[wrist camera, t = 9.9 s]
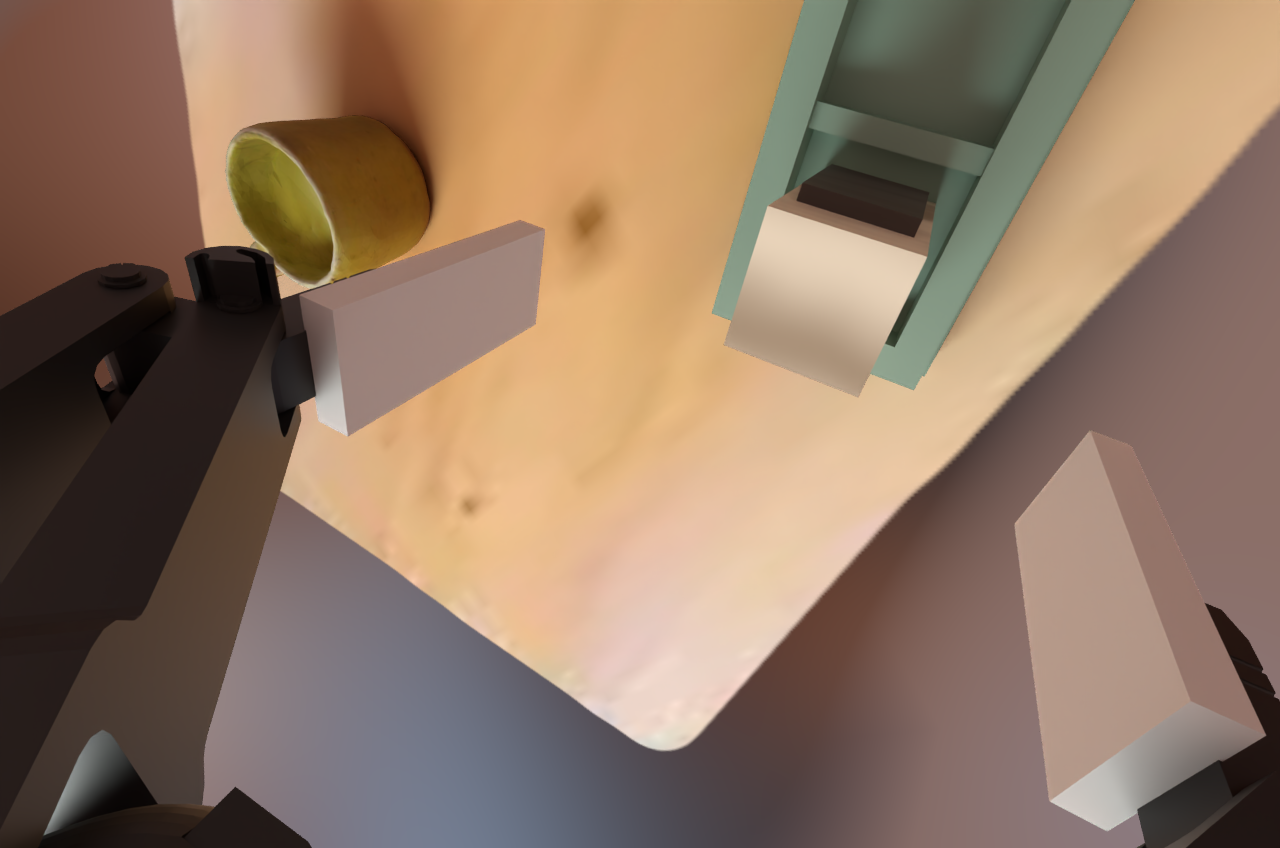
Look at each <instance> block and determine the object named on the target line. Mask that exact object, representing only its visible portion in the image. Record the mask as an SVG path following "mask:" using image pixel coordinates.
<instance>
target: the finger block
mask: <svg viewBox="0 0 1280 848" xmlns="http://www.w3.org/2000/svg"><path fill="white" fill-rule="evenodd" d="M928 195H929V192H927V191H923V190H920V189H916V188H913V187H909V186H906V185H903V184H899V183H896V182H892V181H889V180H885V179H882V178H879V177H875V176H872V175H868V174H865V173H862V172H858V171H855V170H851V169H848V168H844V167H841V166H838V165H834V164H831V165H829V166H828V167H826V168H825V169H823V170H821V171H820V172H818V173H817V174H815V175H814V176H812V177H810V178H809V179H807V180H806V181H804V182H803V183H802V184H801V185H799V186H798V187H796V188H795V189H793V190H792V191H790V192H788V193H787V194H785V195H784V196H782V197H781V198H779V199H778V200H776V201H774V202H773V203H771V204H770V205H768V206H767V209H766V213H765V216H764V219H763V222H762V225H761V228H760V232H759V235H758V238H757V241H756V244H755V247H754V251H753V254H752V257H751V260H750V263H749V266H748V270H747V273H746V276H745V279H744V282H743V286H742V289H741V292H740V295H739V298H738V301H737V305H736V308H735V311H734V314H733V317H732V320H731V324H730V327H729V330H728V333H727V336H726V339H725V343H724V345H725V346H728V347H730V348H733V349H735V350H738V351H740V352H743V353H746V354H748V355H751V356H753V357H756V358H758V359H761V360H764V361H766V362H769V363H771V364H774V365H776V366H779V367H782V368H784V369H787V370H789V371H792V372H794V373H797V374H799V375H802V376H805V377H807V378H810V379H812V380H815V381H817V382H820V383H823V384H825V385H828V386H830V387H833V388H835V389H838V390H840V391H843V392H846V393H848V394H851V395H853V396H856V397H859V395H860V393H861V391H862V389H863V387H864V385H865V383H866V381H867V379H868V377H869V375H870V373H871V371H872V369H873V366H874V364H875V362H876V360H877V358H878V356H879V354H880V352H881V350H882V348H883V346H884V344H885V342H886V340H887V338H888V336H889V334H890V332H891V330H892V328H893V326H894V324H895V322H896V320H897V318H898V316H899V314H900V312H901V310H902V307H903V305H904V303H905V301H906V299H907V297H908V295H909V293H910V291H911V289H912V287H913V285H914V283H915V281H916V279H917V277H918V275H919V273H920V271H921V269H922V267H923V265H924V263H925V261H926V259H927V256H928V250H929V244H930V237H931V231H932V225H933V219H934V213H935V207H936V203H933V202H929V201H927V200H928Z"/></svg>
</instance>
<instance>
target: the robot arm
mask: <svg viewBox="0 0 1280 848" xmlns="http://www.w3.org/2000/svg"><path fill="white" fill-rule="evenodd" d="M544 235H545V229H543V228H540V227H538V226H535V225H532V224H530V223H527V222H524V221H521V220H519V221H516V222H513V223H510V224H507V225H504V226H501V227H498V228H495V229H493V230H490V231H487V232H484V233H481V234H478V235H475V236H472V237H469V238H466V239H463V240H460V241H457V242H454V243H451V244H448V245H445V246H442V247H439V248H436V249H433V250H430V251H427V252H425V253H422V254H419V255H416V256H413V257H410V258H407V259H404V260H401V261H398V262H395V263H392V264H389V265H386V266H383V267H380V268H377V269H369V270H366V271H363V272H360V273H357V274H354V275H351V276H350V277H349V278H346V277H345V278H342V279H339V280H336V281H334V282H333V284H331V283H328V284H325V285H322V286H319V287H316V288H313V289H310V290H307V291H304V292H301V293H298V294H295V295H292V296H289V297H286V298H283V299H281V298H280V292H279V286H278V281H277V275H276V269H275V264H274V258H273V257H272V256H270V255H269V254H268V253H266V252H264V251H261V250H258V249H255V248H248V247H242V246H218V247H210V248H204V249H201V250H198V251H195V252H192V253H190V254H189V255H187V256H186V257H185V261H186V264H187V268H188V272H189V276H190V280H191V283H192V287H193V291H194V295H195V298H196V301H192V300H187V299H183V298H178V297H174V295H173V291H172V288H171V284H170V281H169V277H168V275H167V274H166V273H165V272H163V271H162V270H160V269H157V268H153V267H150V266H143V265H135V264H132V263H123V265H121V263H119V264H110V265H109V266H106V267H101V268H96V269H93V270H90V271H88V272H85V273H82V274H80V275H78V276H76V277H75V278H73V279H71V280H69V281H67V282H65V283H63V284H61V285H59V286H57V287H55V288H53V289H51V290H49V291H48V292H46V293H44V294H42V295H40V296H38V297H36V298H34V299H32V300H30V301H28V302H26V303H25V304H22V305H21V306H19V307H17V308H15V309H13V310H11V311H9V312H7V313H5V314H3V315H1V316H0V848H312V847H311V846H310V844H309V843H308V841H306V840H305V839H304V838H302V837H301V836H300V835H299V834H297V833H296V832H295V831H293V830H292V829H291V828H289V827H288V826H286V825H285V824H284V823H283V822H281V821H280V820H279V819H277V818H276V817H275V816H273V815H272V814H271V813H269V812H268V811H267V810H265V809H264V808H263V807H261V806H260V805H259V804H257V803H256V802H255V801H253V800H252V799H251V798H250V797H248V796H247V795H246V794H244V793H243V792H242V791H240V790H239V789H238V788H236V787H235V788H234V789H233V790H232V791H231V792H230V793H229V794H228V795H227V796H226V797H225V798H224V799H223V800H222V801H221V802H220V803H219V804H218V805H217V806H216V807H212V806H204V805H202V801H203V791H204V749H205V743H206V739H207V734H208V731H209V727H210V724H211V721H212V717H213V714H214V710H215V707H216V704H217V700H218V697H219V694H220V690H221V687H222V683H223V680H224V677H225V673H226V670H227V667H228V664H229V660H230V657H231V654H232V650H233V647H234V643H235V640H236V637H237V633H238V630H239V627H240V623H241V620H242V617H243V613H244V610H245V607H246V603H247V600H248V597H249V593H250V590H251V586H252V583H253V580H254V577H255V573H256V570H257V566H258V563H259V560H260V556H261V553H262V550H263V546H264V543H265V539H266V536H267V533H268V530H269V526H270V523H271V519H272V516H273V513H274V509H275V506H276V503H277V499H278V496H279V493H280V489H281V486H282V483H283V479H284V476H285V473H286V469H287V466H288V463H289V459H290V456H291V453H292V449H293V446H294V442H295V439H296V436H297V432H298V429H299V426H300V422H301V412H300V406H299V404H301V403H303V402H305V401H307V400H309V399H311V398H313V397H315V401H316V408H317V414H318V420H319V422H321V423H323V424H325V425H327V426H329V427H331V428H333V429H335V430H336V431H338V432H340V433H342V434H344V435H346V436H349V435H351V434H353V433H354V432H356V431H358V430H359V429H361V428H363V427H364V426H366V425H368V424H369V423H371V422H373V421H375V420H376V419H378V418H380V417H381V416H383V415H385V414H386V413H388V412H390V411H391V410H393V409H395V408H396V407H398V406H400V405H401V404H403V403H405V402H406V401H408V400H410V399H411V398H413V397H415V396H416V395H418V394H420V393H421V392H423V391H425V390H426V389H428V388H430V387H431V386H433V385H435V384H436V383H438V382H440V381H441V380H443V379H445V378H446V377H448V376H450V375H452V374H453V373H455V372H457V371H458V370H460V369H462V368H463V367H465V366H467V365H468V364H470V363H472V362H473V361H475V360H477V359H478V358H480V357H482V356H483V355H485V354H487V353H488V352H490V351H492V350H493V349H495V348H497V347H498V346H500V345H502V344H503V343H505V342H507V341H508V340H510V339H512V338H513V337H515V336H517V335H518V334H520V333H522V332H523V331H525V330H527V329H528V328H530V327H532V326H534V325H535V324H536V314H537V304H538V295H539V285H540V275H541V265H542V255H543V245H544ZM103 358H104V360H105V363H106V365H107V368H108V371H109V373H110V376H111V378H112V381H111V382H110V383H109V384H107V385H106V386H105V387H103V388H100V386H99V385H98V384H97V382H96V379H95V377H94V374H95V371H96V367H97V365H98V364H99V362H100V361H101V360H102V359H103ZM1014 525H1015V532H1016V540H1017V548H1018V556H1019V564H1020V571H1021V579H1022V588H1023V596H1024V604H1025V612H1026V619H1027V627H1028V635H1029V643H1030V651H1031V659H1032V667H1033V674H1034V683H1035V690H1036V698H1037V706H1038V715H1039V722H1040V730H1041V737H1042V745H1043V754H1044V762H1045V770H1046V777H1047V785H1048V793H1049V801H1050V802H1052V803H1054V804H1056V805H1058V806H1060V807H1061V808H1064V809H1065V810H1067V811H1069V812H1071V813H1073V814H1075V815H1077V816H1079V817H1081V818H1083V819H1085V820H1087V821H1089V822H1090V823H1092V824H1094V825H1096V826H1098V827H1100V828H1102V829H1104V830H1106V831H1108V830H1110V829H1112V828H1113V827H1115V826H1117V825H1118V824H1120V823H1122V822H1123V821H1125V820H1127V819H1128V818H1130V817H1132V816H1133V815H1135V814H1137V813H1138V815H1139V819H1140V823H1141V828H1142V831H1143V836H1144V840H1145V843H1144V844H1142V845H1141V846H1139V847H1137V848H1280V701H1279V699H1277V698H1275V697H1274V694H1275V691H1274V689H1273V687H1272V685H1271V683H1270V681H1269V679H1268V677H1267V675H1266V674H1263V673H1262V670H1263V667H1262V666H1261V664H1260V662H1259V660H1258V658H1257V656H1256V654H1255V652H1254V650H1253V648H1252V646H1251V644H1250V642H1249V640H1248V639H1247V638H1246V637H1245V636H1244V635H1243V633H1242V632H1241V631H1240V630H1239V629H1238V628H1237V627H1236V626H1235V625H1234V623H1233V622H1232V621H1231V620H1230V619H1229V618H1228V617H1227V616H1226V614H1225V613H1224V612H1223V611H1222V610H1221V609H1218V608H1216V607H1213V606H1211V605H1209V604H1206V603H1204V601H1203V599H1202V596H1201V595H1200V592H1199V590H1198V588H1197V586H1196V584H1195V582H1194V579H1193V577H1192V575H1191V573H1190V571H1189V569H1188V566H1187V565H1186V562H1185V560H1184V558H1183V556H1182V554H1181V551H1180V549H1179V548H1178V545H1177V543H1176V541H1175V539H1174V536H1173V534H1172V532H1171V530H1170V528H1169V526H1168V523H1167V521H1166V519H1165V517H1164V515H1163V513H1162V511H1161V508H1160V506H1159V504H1158V502H1157V500H1156V498H1155V496H1154V494H1153V491H1152V489H1151V487H1150V485H1149V483H1148V481H1147V478H1146V476H1145V474H1144V472H1143V470H1142V468H1141V466H1140V463H1139V461H1138V459H1137V457H1136V455H1135V453H1134V450H1133V448H1132V446H1131V445H1129V444H1126V443H1123V442H1121V441H1118V440H1115V439H1112V438H1110V437H1107V436H1104V435H1101V434H1099V433H1096V432H1094V431H1091V430H1090V431H1089V432H1088V434H1087V435H1086V436H1085V437H1084V439H1083V440H1082V441H1081V442H1080V444H1079V445H1078V446H1077V447H1076V449H1075V450H1074V451H1073V452H1072V453H1071V455H1070V456H1069V457H1068V459H1067V460H1066V461H1065V462H1064V463H1063V465H1062V466H1061V467H1060V468H1059V470H1058V471H1057V472H1056V473H1055V475H1054V476H1053V477H1052V478H1051V480H1050V481H1049V482H1048V483H1047V484H1046V486H1045V487H1044V488H1043V490H1042V491H1041V492H1040V493H1039V494H1038V496H1037V497H1036V498H1035V499H1034V501H1033V502H1032V503H1031V504H1030V506H1029V507H1028V508H1027V509H1026V511H1025V512H1024V513H1023V514H1022V515H1021V517H1020V518H1019V519H1018V520H1017V522H1016V523H1015V524H1014Z"/></svg>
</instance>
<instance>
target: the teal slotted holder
mask: <svg viewBox="0 0 1280 848" xmlns="http://www.w3.org/2000/svg"><path fill="white" fill-rule="evenodd" d="M1134 1H1135V0H804V3H803V6H802V10H801V13H800V17H799V20H798V23H797V27H796V30H795V33H794V37H793V40H792V44H791V47H790V50H789V54H788V57H787V60H786V64H785V67H784V71H783V74H782V77H781V81H780V84H779V88H778V91H777V94H776V98H775V101H774V104H773V108H772V111H771V115H770V118H769V121H768V125H767V128H766V131H765V135H764V138H763V142H762V145H761V148H760V152H759V155H758V158H757V162H756V165H755V169H754V172H753V175H752V179H751V182H750V186H749V189H748V192H747V196H746V199H745V202H744V206H743V209H742V213H741V216H740V219H739V223H738V226H737V229H736V233H735V236H734V240H733V243H732V246H731V250H730V253H729V256H728V260H727V263H726V267H725V270H724V273H723V277H722V280H721V284H720V287H719V290H718V294H717V297H716V300H715V304H714V307H713V311H712V314H715V315H718V316H720V317H723V318H725V319H728V320H732V317H733V314H734V311H735V308H736V305H737V301H738V298H739V295H740V292H741V289H742V286H743V282H744V279H745V276H746V273H747V270H748V266H749V263H750V260H751V257H752V254H753V251H754V247H755V244H756V241H757V238H758V235H759V232H760V228H761V225H762V222H763V219H764V216H765V213H766V209H767V206H768V205H770V204H771V203H773V202H774V201H776V200H778V199H779V198H781V197H782V196H784V195H785V194H787V193H788V192H790V191H792V190H793V189H795V188H796V187H798V186H799V185H801V184H802V183H803V182H804V181H806V180H807V179H809V178H810V177H812V176H814V175H815V174H817V173H818V172H820V171H821V170H823V169H825V168H826V167H828V166H829V165H831V164H834V165H838V166H841V167H844V168H848V169H851V170H855V171H858V172H862V173H865V174H868V175H872V176H875V177H879V178H882V179H885V180H889V181H892V182H896V183H899V184H903V185H906V186H909V187H913V188H916V189H920V190H923V191H927V192H929V195H928V200H927V201H929V202H933V203H936V207H935V213H934V219H933V225H932V231H931V237H930V244H929V250H928V256H927V259H926V261H925V263H924V265H923V267H922V269H921V271H920V273H919V275H918V277H917V279H916V281H915V283H914V285H913V287H912V289H911V291H910V293H909V295H908V297H907V299H906V301H905V303H904V305H903V307H902V310H901V312H900V314H899V316H898V318H897V320H896V322H895V324H894V326H893V328H892V330H891V332H890V334H889V336H888V338H887V340H886V342H885V344H884V346H883V348H882V350H881V352H880V354H879V356H878V358H877V360H876V362H875V364H874V366H873V369H872V371H871V373H870V374H872V375H875V376H878V377H880V378H883V379H885V380H888V381H891V382H893V383H896V384H899V385H901V386H904V387H906V388H909V389H912V390H914V389H915V387H916V385H917V384H918V382H919V380H920V378H921V376H925V375H926V373H927V371H928V369H929V367H930V366H931V364H932V362H933V360H934V358H935V357H936V355H937V353H938V351H939V350H940V348H941V346H942V344H943V342H944V341H945V339H946V337H947V335H948V333H949V332H950V330H951V328H952V326H953V325H954V323H955V321H956V319H957V317H958V316H959V314H960V312H961V310H962V308H963V307H964V305H965V303H966V301H967V299H968V298H969V296H970V294H971V292H972V291H973V289H974V287H975V285H976V283H977V282H978V280H979V278H980V276H981V274H982V273H983V271H984V269H985V267H986V266H987V264H988V262H989V260H990V258H991V257H992V255H993V253H994V251H995V249H996V248H997V246H998V244H999V242H1000V241H1001V239H1002V237H1003V235H1004V233H1005V232H1006V230H1007V228H1008V226H1009V224H1010V223H1011V221H1012V219H1013V217H1014V215H1015V214H1016V212H1017V210H1018V208H1019V207H1020V205H1021V203H1022V201H1023V199H1024V198H1025V196H1026V194H1027V192H1028V190H1029V189H1030V187H1031V185H1032V183H1033V182H1034V180H1035V178H1036V176H1037V174H1038V173H1039V171H1040V169H1041V167H1042V165H1043V164H1044V162H1045V160H1046V158H1047V157H1048V155H1049V153H1050V151H1051V149H1052V148H1053V146H1054V144H1055V142H1056V140H1057V139H1058V137H1059V135H1060V133H1061V131H1062V130H1063V128H1064V126H1065V124H1066V123H1067V121H1068V119H1069V117H1070V115H1071V114H1072V112H1073V110H1074V108H1075V106H1076V105H1077V103H1078V101H1079V99H1080V98H1081V96H1082V94H1083V92H1084V90H1085V89H1086V87H1087V85H1088V83H1089V81H1090V80H1091V78H1092V76H1093V74H1094V73H1095V71H1096V69H1097V67H1098V65H1099V64H1100V62H1101V60H1102V58H1103V56H1104V55H1105V53H1106V51H1107V49H1108V47H1109V46H1110V44H1111V42H1112V40H1113V39H1114V37H1115V35H1116V33H1117V31H1118V30H1119V28H1120V26H1121V24H1122V22H1123V21H1124V19H1125V17H1126V15H1127V14H1128V12H1129V10H1130V8H1131V6H1132V5H1133V3H1134Z"/></svg>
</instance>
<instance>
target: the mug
mask: <svg viewBox="0 0 1280 848" xmlns="http://www.w3.org/2000/svg"><path fill="white" fill-rule="evenodd" d="M225 173H226V181H227V185H228V189H229V192H230V196H231V199H232V202H233V204H234V207H235V209H236V211H237V214H238V215H239V217H240V219H241V222H242V223H243V225H244V226H245V227H246V229H247V230H248V232H249V233H250V235H251V236H252V238H253V239H254V240H255V242H254V243H253V244H251V246H250V248H255V249H258V250H261V251H264V252H266V253H268V254H269V255H270V256H272V257H273V258H274V264H275V269H276V275H277V277H278V276H282V275H284V274H285V275H286V276H288V277H289V278H290V279H291V280H292V281H294V282H296V283H298V285H301V286H303V287H306V288H309V289H313V288H316V287H319V286H322V285H325V284H328V283H331V284H333V282H334V281H336V280H339V279H342V278H345V277H346V278H349V277H350V276H351V275H354V274H357V273H360V272H363V271H366V270H369V269H377V268H379V267H380V266H382V265H384V264H386V263H388V262H390V261H392V260H394V259H396V258H398V257H400V256H402V255H403V254H405V253H407V252H408V251H409V250H410V249H412V248H413V247H414V246H415V245H416V244H417V243H418V242H419V241H420V239H421V237H422V236H423V234H424V232H425V230H426V228H427V224H428V221H429V215H430V201H429V198H428V194H427V189H426V184H425V179H424V176H423V172H422V170H421V168H420V166H419V164H418V162H417V160H416V159H415V158H414V156H413V155H412V153H411V151H410V149H409V148H408V146H407V145H406V144H405V143H404V141H403V140H402V139H400V138H399V137H398V136H396V135H395V134H394V133H393V132H392V131H391V130H390V129H389V128H388V127H387V126H386V125H385V124H383V123H381V122H379V121H377V120H375V119H372V118H369V117H366V116H356V115H352V116H345V117H339V118H332V119H312V120H292V121H276V122H265V123H259V124H255V125H252V126H249V127H247V128H244V129H242V130H240V131H239V132H238V133H237V134H236V135H235V136H234V138H233V139H232V140H231V142H230V144H229V147H228V150H227V155H226V170H225Z"/></svg>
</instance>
